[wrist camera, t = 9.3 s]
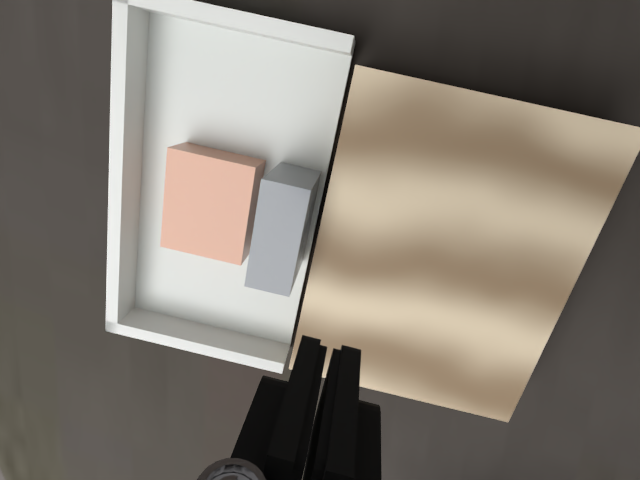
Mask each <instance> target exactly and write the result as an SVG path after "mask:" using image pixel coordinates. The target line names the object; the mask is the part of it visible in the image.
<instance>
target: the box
mask: <svg viewBox="0 0 640 480" xmlns="http://www.w3.org/2000/svg"><path fill="white" fill-rule="evenodd" d="M355 43H356V42H355V37H354V35H349V34H345V33H340V32H336V31H331V30H326V29H322V28H317V27H313V26H308V25H303V24H299V23H294V22H290V21H285V20H281V19H276V18H271V17H267V16H262V15H258V14H253V13H248V12H244V11H239V10H235V9H230V8H226V7H221V6H216V5H212V4H207V3H203V2H198V1H194V0H113V1H112V48H111V95H110V142H109V190H108V237H107V284H106V331H108V332H112V333H116V334H120V335H124V336H129V337H133V338H137V339H141V340H145V341H149V342H153V343H157V344H161V345H166V346H170V347H174V348H178V349H182V350H186V351H190V352H194V353H199V354H203V355H207V356H211V357H215V358H219V359H223V360H227V361H231V362H236V363H240V364H244V365H248V366H252V367H256V368H260V369H264V370H269V371H273V372H277V373H281V374H282V372H283V369H284V366H285V362H286V359H287V355H288V352H289V349H290V345H291V340H292V335H293V331H294V326H295V321H296V317H297V312H298V307H299V303H300V298H301V294H302V289H303V284H304V280H305V275H306V270H307V266H308V261H309V256H310V252H311V247H312V242H313V238H314V233H315V228H316V224H317V219H318V215H319V210H320V205H321V201H322V196H323V191H324V187H325V182H326V177H327V173H328V168H329V163H330V159H331V154H332V149H333V145H334V140H335V136H336V131H337V126H338V122H339V117H340V112H341V108H342V103H343V98H344V94H345V89H346V84H347V80H348V75H349V71H350V66H351V61H352V57H353V52H354V47H355ZM184 142H188V143H193V144H197V145H202V146H206V147H210V148H215V149H219V150H223V151H228V152H232V153H237V154H241V155H245V156H250V157H254V158H259V159H263V160H266V164H265V170H264V176H265V175H266V174H267V173H269V172H270V171H271V170H272V169H273V168H274V167H276V166H277V165H278V164H279V163H280V162H283V163H288V164H292V165H297V166H301V167H305V168H310V169H314V170H319V171H322V172H321V176H320V181H319V186H318V191H317V195H316V200H315V205H314V210H313V215H312V219H311V224H310V229H309V234H308V238H307V243H306V248H305V253H304V258H303V262H302V264H301V267H300V270H299V272H298V275H297V278H296V280H295V283H294V286H293V289H292V291H291V294H290V297H287V296H283V295H278V294H274V293H270V292H266V291H262V290H257V289H253V288H249V287H245V286H244V284H245V278H246V272H247V265H248V259H249V255H248V256H247V258H246V259H245V261H244V262H243V263H242V265H241V266H240V265H236V264H232V263H227V262H223V261H219V260H215V259H211V258H206V257H202V256H198V255H194V254H189V253H185V252H181V251H177V250H172V249H168V248H164V247H160V242H161V228H162V214H163V200H164V186H165V172H166V157H167V147H170V146H174V145H177V144H180V143H184Z"/></svg>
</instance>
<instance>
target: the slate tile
mask: <svg viewBox="0 0 640 480" xmlns="http://www.w3.org/2000/svg"><path fill="white" fill-rule="evenodd" d="M321 172H322V171H319V170H314V169H310V168H305V167H301V166H297V165H292V164H288V163H283V162H280V163H279V164H278V165H277V166H276V167H274V168H273V169H272V170H271V171H270V172H269V173H267V174H266V175H265V176H264V177H263V178H261V182H260V189H259V195H258V201H257V208H256V214H255V221H254V227H253V233H252V240H251V246H250V252H249V259H248V265H247V272H246V278H245V284H244V286H245V287H249V288H253V289H257V290H262V291H266V292H270V293H274V294H278V295H283V296H287V297H290V294H291V291H292V289H293V286H294V283H295V280H296V278H297V275H298V272H299V270H300V267H301V264H302V262H303V258H304V253H305V248H306V243H307V238H308V234H309V229H310V224H311V219H312V215H313V210H314V205H315V200H316V195H317V191H318V186H319V181H320V176H321Z"/></svg>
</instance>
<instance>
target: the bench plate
mask: <svg viewBox="0 0 640 480" xmlns="http://www.w3.org/2000/svg"><path fill="white" fill-rule="evenodd" d="M639 150H640V127H636V126H632V125H627V124H622V123H618V122H613V121H609V120H604V119H600V118H595V117H591V116H586V115H582V114H577V113H573V112H568V111H563V110H559V109H554V108H550V107H545V106H541V105H536V104H532V103H527V102H523V101H518V100H514V99H509V98H504V97H500V96H495V95H491V94H486V93H482V92H477V91H473V90H468V89H464V88H459V87H454V86H450V85H445V84H441V83H436V82H432V81H427V80H423V79H418V78H414V77H409V76H405V75H400V74H395V73H391V72H386V71H382V70H377V69H373V68H368V67H364V66H359V65H355V68H354V73H353V77H352V82H351V87H350V91H349V96H348V100H347V105H346V109H345V114H344V119H343V123H342V128H341V132H340V137H339V141H338V146H337V151H336V155H335V160H334V164H333V169H332V173H331V178H330V182H329V187H328V192H327V196H326V201H325V205H324V210H323V214H322V219H321V224H320V228H319V233H318V237H317V242H316V246H315V251H314V256H313V260H312V265H311V269H310V274H309V278H308V283H307V288H306V292H305V297H304V301H303V306H302V310H301V315H300V320H299V324H298V329H297V333H296V338H295V342H294V347H293V352H292V356H291V361H290V365H289V369H291V370H292V368H293V365H294V362H295V358H296V355H297V351H298V348H299V345H300V341H301V338H302V335H305V336H309V337H313V338H317V339H321V343H320V345H323V346H327V352H326V357H325V363H324V368H323V373H322V377H324V378H326V374H327V370H328V366H329V362H330V359H331V355H332V351H333V348H335V349H339V350H340V349H341V346H342V345H345V346H349V347H353V348H357V349H361V366H360V384H359V386H361V387H365V388H369V389H373V390H377V391H381V392H386V393H390V394H394V395H398V396H402V397H406V398H410V399H414V400H419V401H423V402H427V403H431V404H435V405H439V406H443V407H447V408H452V409H456V410H460V411H464V412H468V413H472V414H476V415H480V416H485V417H489V418H493V419H497V420H501V421H505V422H509V420H510V418H511V415H512V413H513V411H514V409H515V407H516V405H517V403H518V401H519V399H520V397H521V395H522V393H523V391H524V389H525V386H526V384H527V382H528V380H529V378H530V376H531V374H532V372H533V370H534V368H535V366H536V364H537V362H538V360H539V357H540V355H541V353H542V351H543V349H544V347H545V345H546V343H547V341H548V339H549V337H550V335H551V333H552V331H553V328H554V326H555V324H556V322H557V320H558V318H559V316H560V314H561V312H562V310H563V308H564V306H565V304H566V301H567V299H568V297H569V295H570V293H571V291H572V289H573V287H574V285H575V283H576V281H577V279H578V277H579V275H580V272H581V270H582V268H583V266H584V264H585V262H586V260H587V258H588V256H589V254H590V252H591V250H592V248H593V246H594V243H595V241H596V239H597V237H598V235H599V233H600V231H601V229H602V227H603V225H604V223H605V221H606V219H607V217H608V214H609V212H610V210H611V208H612V206H613V204H614V202H615V200H616V198H617V196H618V194H619V192H620V190H621V187H622V185H623V183H624V181H625V179H626V177H627V175H628V173H629V171H630V169H631V167H632V165H633V163H634V161H635V158H636V156H637V154H638V152H639Z"/></svg>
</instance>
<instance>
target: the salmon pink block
mask: <svg viewBox="0 0 640 480" xmlns="http://www.w3.org/2000/svg"><path fill="white" fill-rule="evenodd" d="M265 164H266V160H263V159H259V158H254V157H250V156H245V155H241V154H237V153H232V152H228V151H223V150H219V149H215V148H210V147H206V146H202V145H197V144H193V143H188V142H184V143H180V144H177V145H174V146H170V147H167V157H166V172H165V186H164V200H163V214H162V228H161V242H160V247H164V248H168V249H172V250H177V251H181V252H185V253H189V254H194V255H198V256H202V257H206V258H211V259H215V260H219V261H223V262H227V263H232V264H236V265H240V266H241V265H242V263H243V262H244V261H245V259H246V258H247V256H248V255H249V252H250V246H251V240H252V233H253V227H254V221H255V214H256V208H257V201H258V195H259V189H260V182H261V178H263V177H264V170H265Z"/></svg>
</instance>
